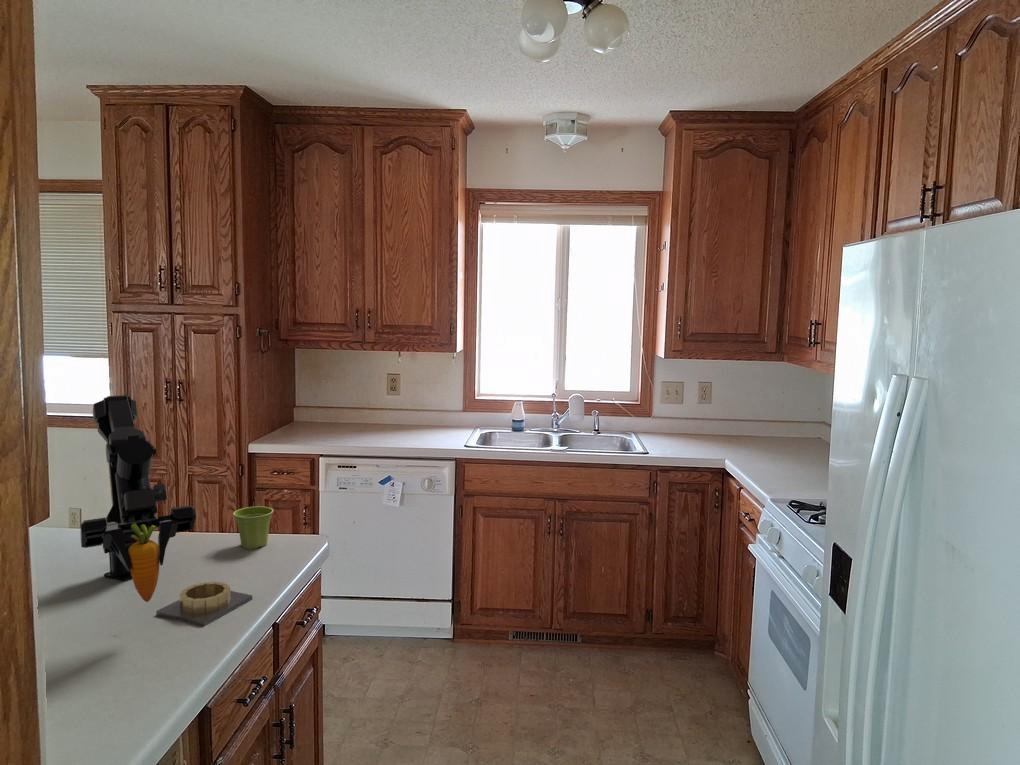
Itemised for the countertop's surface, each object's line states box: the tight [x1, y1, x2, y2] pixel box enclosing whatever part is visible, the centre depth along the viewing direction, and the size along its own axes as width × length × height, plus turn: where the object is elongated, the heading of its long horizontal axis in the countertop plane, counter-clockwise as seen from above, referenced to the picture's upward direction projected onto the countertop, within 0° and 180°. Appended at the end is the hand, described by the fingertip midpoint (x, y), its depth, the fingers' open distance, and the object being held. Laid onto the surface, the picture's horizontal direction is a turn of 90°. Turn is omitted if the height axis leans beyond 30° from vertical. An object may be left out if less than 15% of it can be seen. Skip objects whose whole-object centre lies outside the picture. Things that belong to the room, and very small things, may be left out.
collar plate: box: [155, 581, 253, 627], centre depth 139 cm, size 12×13×3 cm
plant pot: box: [233, 506, 274, 549], centre depth 174 cm, size 9×9×9 cm
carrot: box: [128, 523, 160, 603], centre depth 126 cm, size 5×5×15 cm
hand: (145, 567), depth 125 cm, fingers closed on carrot, 5 cm apart
